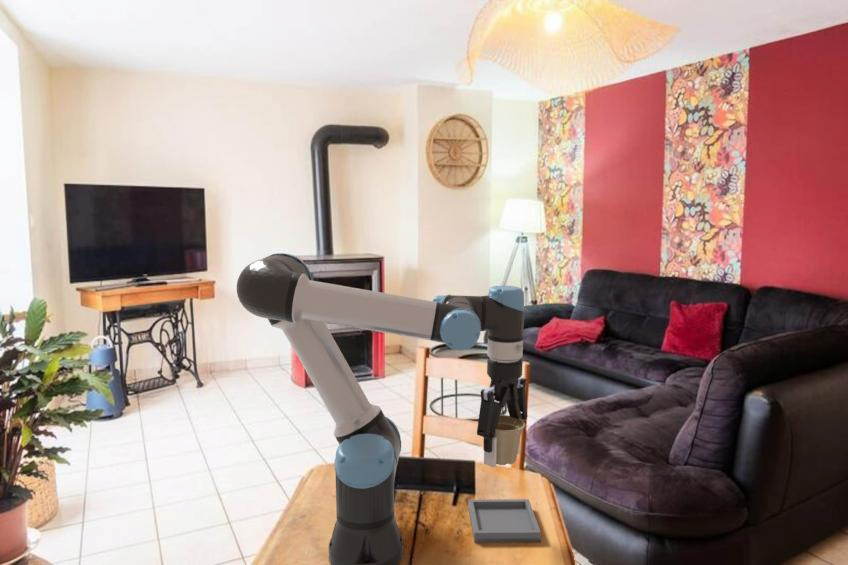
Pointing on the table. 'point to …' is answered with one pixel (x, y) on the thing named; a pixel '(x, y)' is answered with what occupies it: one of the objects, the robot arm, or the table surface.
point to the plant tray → (503, 521)
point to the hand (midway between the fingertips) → (502, 458)
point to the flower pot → (508, 439)
